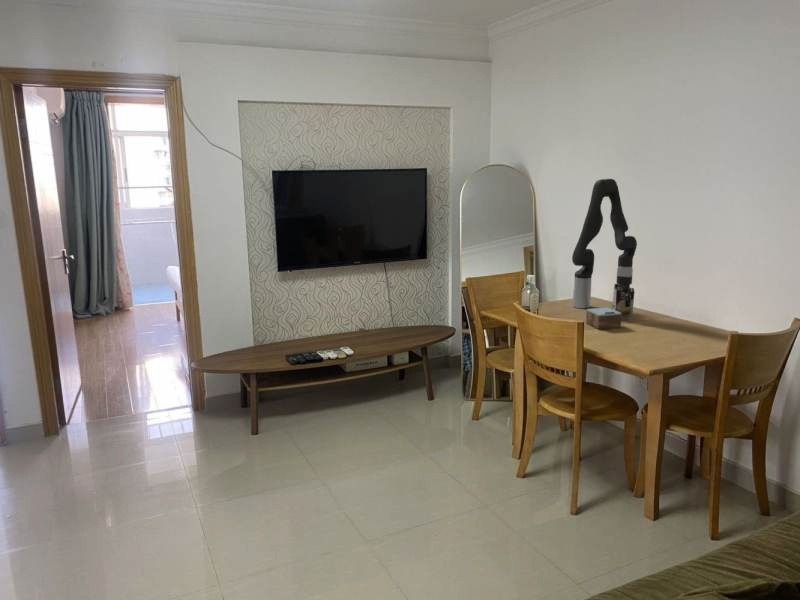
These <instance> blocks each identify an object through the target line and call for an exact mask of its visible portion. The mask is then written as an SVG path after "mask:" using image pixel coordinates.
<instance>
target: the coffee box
mask: <svg viewBox="0 0 800 600" xmlns="http://www.w3.org/2000/svg"><path fill="white" fill-rule="evenodd" d="M624 291H625V290H621V289H618V288H613V293H612V294H613V297H612V308H611V309H613V310H615V311H618V312H620V313H621V321H633V315H634V303H635V298H634V299H632V300H630V307H625V304H626V298H625V297H624ZM625 294H628V290H627V292H626V293H625ZM630 296H631V295H630ZM627 297H628V296H627Z"/></svg>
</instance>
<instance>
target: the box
mask: <svg viewBox="0 0 800 600" xmlns="http://www.w3.org/2000/svg"><path fill="white" fill-rule="evenodd" d="M585 325H587V326H589V325H590V327H591V326H592V327H591V328H593V327H594V329H596V330H598V331H600V330H604V331H605V330H614V329H621V327H622V320H621V315H608V316H598V315H595V314H593V313H591V312H589V311H587V310H586V318H585Z"/></svg>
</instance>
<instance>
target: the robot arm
mask: <svg viewBox="0 0 800 600" xmlns="http://www.w3.org/2000/svg"><path fill="white" fill-rule="evenodd" d="M617 183H618V182H617V181H616V180H615V179H613V178H603V179H598V180H596V182H595V183H594V184H593V187H592V191H591V192H592V193H591V196H590V202H589V206H588V208H587V212H586V216H585V218H584V222H583V225H582V229H581V231H580V232H581V233H580V236H579V237H578V238H579V239H578V241H577V243H576V244H575V245H576V246H575V248H574V250H573V253H572V256H571V257H572V258H571V260H572V264H573V265H574V266H577V267H581V268H579V270H576V271H575V272H574V284H573V294H572V295H573V296H572V297H573V298H572V299H573V301H572V306H573V307H574V308H576V309H591V308H590V307H591V296H592V295H591V294H592V278H593V277H592V276H593V272H594V266H595V265H594V264H595V253H594V251H593V249H591V248H588V246H589V244H590V243H591V242H593V240H594V239H595V238H596V237H597V236H598V235H599V233H600V231H601V228H602V226H603V221H604V217H603V212H602V209H601V208H602V202H603V201H604V198H608V199H609V201H610V204H611V206H610V214H609V219H610V223H611V226H612V228H613V231H614V242H615V246H616V248H617V249H618V250H619V251H623V252H622V253H621V254H620V255H619V256H618V259H617V270H616V283H614V284H613V285H614V288H618V289H621V290H625V291H624V297H625V298H626V304H625V307H630V300H632V299H634V300H635V289H634V287H631V285H632V284H633V274H634V273H633V271H634V269H633V261H634V257H635V253H636V250H637V245H638V242H637V239H636V237H635V236H633V235H626V232H628V230H629V225H628V223H627V220H626V218H625V214H624V210H623V207H622V201H621V197H620V192H619V186H618V184H617ZM614 288H613V289H614ZM627 290H628V294H625V293H626V292H627ZM630 295H631V296H630ZM627 296H628V297H627Z"/></svg>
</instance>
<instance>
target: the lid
mask: <svg viewBox="0 0 800 600" xmlns="http://www.w3.org/2000/svg"><path fill="white" fill-rule="evenodd" d="M587 311H589V312H591V313H593V314H595V315H598V316H608V315H621V313H620V312H618V311H615V310H613V309H612V308H610V307H599V308H595V307H594V308H586V312H587Z"/></svg>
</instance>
